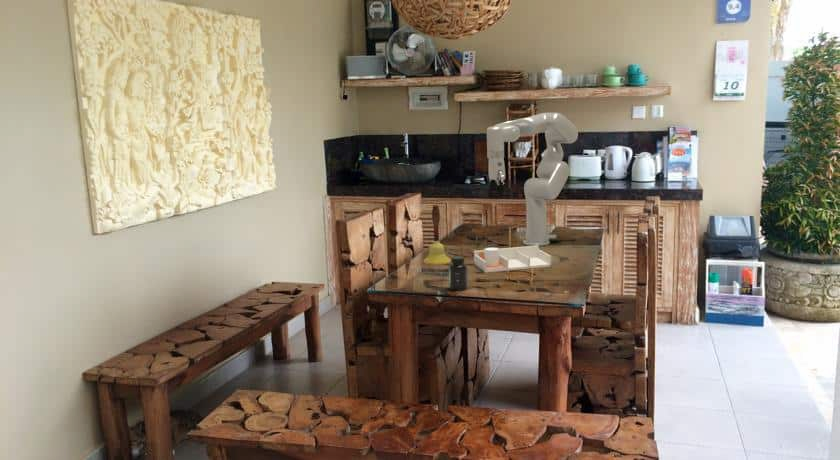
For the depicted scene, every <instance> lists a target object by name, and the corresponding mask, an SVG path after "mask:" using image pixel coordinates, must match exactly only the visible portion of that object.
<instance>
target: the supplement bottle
mask: <svg viewBox="0 0 840 460" xmlns="http://www.w3.org/2000/svg"><path fill="white" fill-rule="evenodd" d="M450 259H451V262H450V263H451V264H450V265H449V266H448V274H449V275H448V277H449V279H448V280H449V281H448V283H449V284H448V285H449V289H450V290H451V289H452V291H456V290H460V291H465V290H467V289H468V266H467V264H466V263H465V257H464V256H463V255H462V256H460V255H459V256H451V258H450ZM464 289H465V290H464Z"/></svg>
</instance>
